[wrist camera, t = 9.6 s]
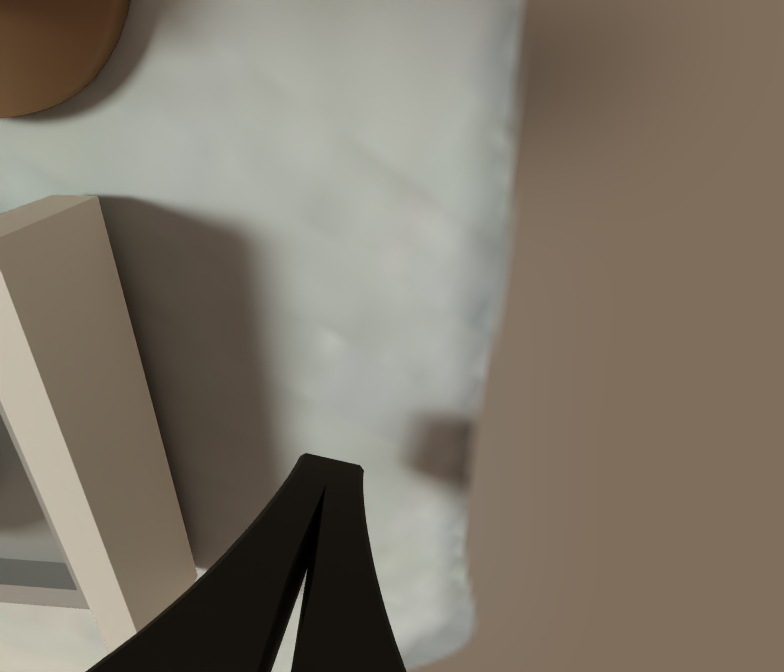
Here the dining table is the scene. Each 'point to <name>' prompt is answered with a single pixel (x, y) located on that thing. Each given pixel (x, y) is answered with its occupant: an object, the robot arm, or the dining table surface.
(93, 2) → the stand
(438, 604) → the dining table surface
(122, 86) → the dining table surface
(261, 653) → the robot arm
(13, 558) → the tray
